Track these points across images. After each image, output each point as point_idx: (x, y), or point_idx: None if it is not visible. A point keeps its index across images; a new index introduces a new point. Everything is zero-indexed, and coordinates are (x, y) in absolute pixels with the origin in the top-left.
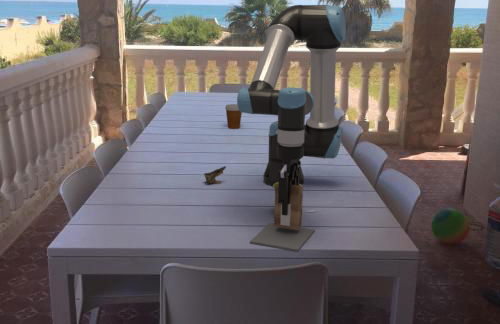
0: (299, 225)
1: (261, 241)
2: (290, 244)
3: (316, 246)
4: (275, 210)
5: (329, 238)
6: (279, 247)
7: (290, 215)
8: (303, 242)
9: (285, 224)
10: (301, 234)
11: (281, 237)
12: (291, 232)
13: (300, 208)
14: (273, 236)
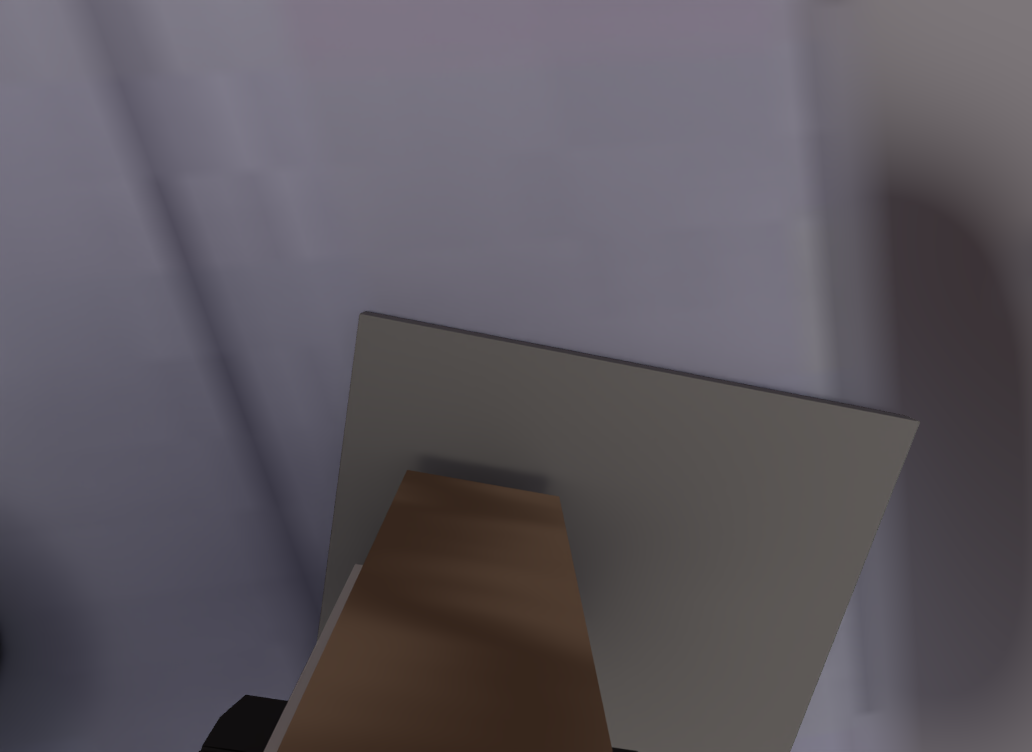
0: (478, 493)
1: (762, 725)
2: (803, 500)
3: (761, 256)
4: None
5: (522, 133)
6: (849, 575)
7: None
8: (740, 391)
9: None
10: (537, 433)
11: (647, 594)
12: None
13: (438, 640)
14: (637, 659)
